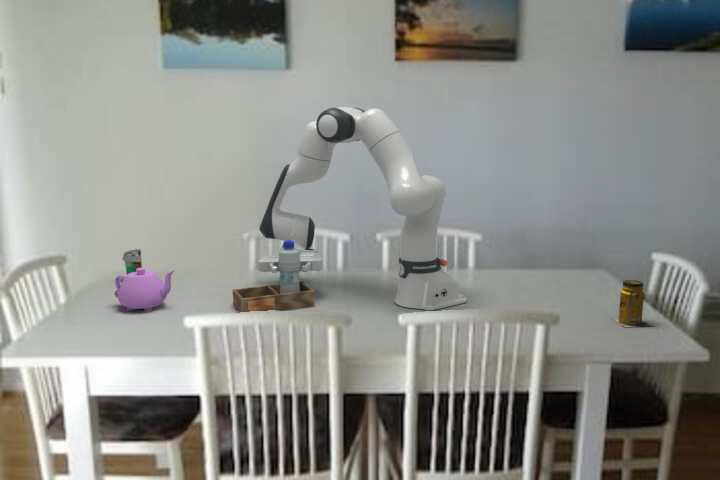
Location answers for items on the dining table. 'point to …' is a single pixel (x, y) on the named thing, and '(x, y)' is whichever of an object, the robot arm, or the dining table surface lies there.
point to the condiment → (631, 305)
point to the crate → (272, 298)
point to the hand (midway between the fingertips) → (289, 269)
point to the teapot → (142, 289)
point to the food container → (132, 260)
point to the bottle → (289, 268)
